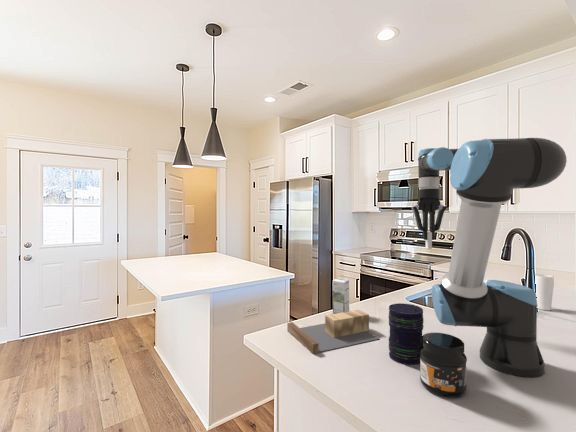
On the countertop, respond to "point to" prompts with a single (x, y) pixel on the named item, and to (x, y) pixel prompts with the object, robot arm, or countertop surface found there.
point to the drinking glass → (544, 291)
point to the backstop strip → (303, 338)
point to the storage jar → (405, 333)
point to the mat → (333, 343)
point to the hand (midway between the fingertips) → (428, 248)
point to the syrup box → (340, 295)
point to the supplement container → (443, 364)
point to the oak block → (346, 323)
